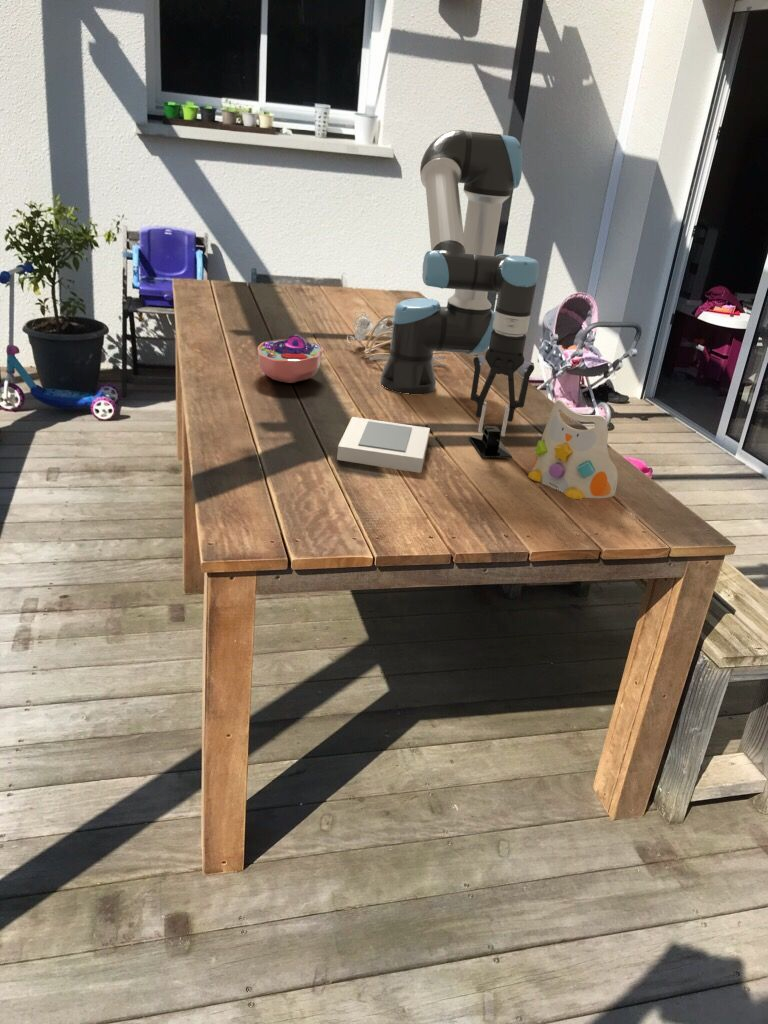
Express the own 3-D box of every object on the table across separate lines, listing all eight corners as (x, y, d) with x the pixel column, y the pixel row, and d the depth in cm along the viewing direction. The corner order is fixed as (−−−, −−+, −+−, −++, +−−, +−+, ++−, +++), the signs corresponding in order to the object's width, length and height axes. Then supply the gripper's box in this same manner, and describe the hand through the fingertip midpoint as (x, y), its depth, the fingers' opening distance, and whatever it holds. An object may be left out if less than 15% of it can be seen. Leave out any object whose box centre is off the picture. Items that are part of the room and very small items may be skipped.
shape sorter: (511, 474, 181) (526, 397, 173) (540, 463, 188) (555, 388, 180) (588, 509, 170) (608, 428, 161) (615, 496, 176) (635, 418, 168)
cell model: (240, 380, 216) (241, 338, 211) (283, 363, 233) (285, 324, 227) (294, 396, 210) (297, 353, 205) (335, 378, 226) (338, 337, 221)
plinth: (350, 433, 192) (352, 415, 190) (427, 444, 191) (430, 426, 189) (336, 463, 176) (338, 444, 174) (420, 476, 175) (423, 457, 173)
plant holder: (371, 387, 236) (379, 334, 227) (334, 334, 262) (339, 285, 253) (459, 382, 246) (470, 332, 237) (415, 332, 272) (423, 285, 262)
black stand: (468, 437, 197) (470, 419, 195) (497, 438, 198) (500, 420, 196) (482, 457, 186) (485, 437, 184) (513, 457, 187) (516, 438, 185)
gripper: (467, 330, 176) (452, 432, 186) (551, 342, 174) (530, 444, 185) (469, 321, 182) (454, 420, 193) (549, 332, 181) (529, 431, 192)
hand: (491, 432), depth 189 cm, fingers open, 4 cm apart
